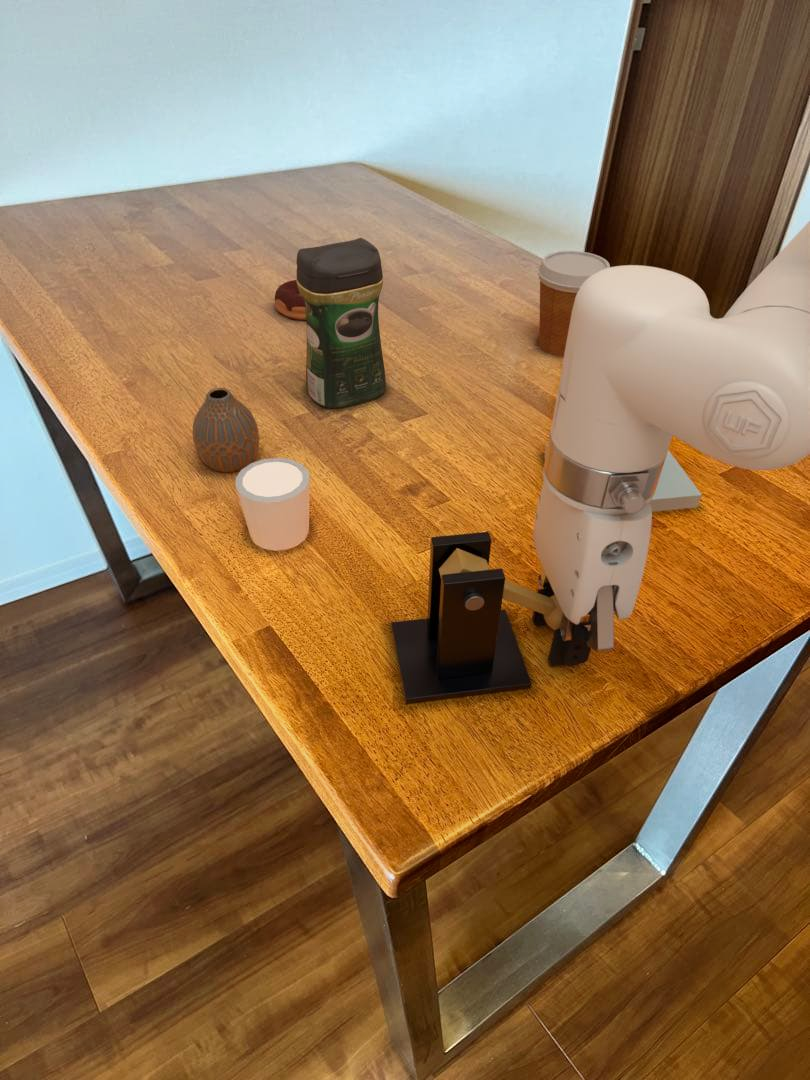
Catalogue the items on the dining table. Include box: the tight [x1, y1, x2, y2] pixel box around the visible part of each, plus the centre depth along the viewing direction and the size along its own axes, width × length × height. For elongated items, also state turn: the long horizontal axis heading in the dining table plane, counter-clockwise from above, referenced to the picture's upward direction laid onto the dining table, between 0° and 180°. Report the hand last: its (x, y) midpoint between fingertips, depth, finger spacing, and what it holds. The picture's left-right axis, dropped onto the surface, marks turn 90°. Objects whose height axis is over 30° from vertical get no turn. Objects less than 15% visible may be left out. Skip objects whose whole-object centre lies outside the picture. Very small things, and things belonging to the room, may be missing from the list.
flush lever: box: [439, 548, 585, 631], centre depth 56 cm, size 13×3×3 cm
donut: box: [274, 279, 306, 321], centre depth 109 cm, size 10×10×4 cm
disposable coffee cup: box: [537, 250, 611, 358], centre depth 98 cm, size 10×10×12 cm
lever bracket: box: [390, 531, 532, 705], centre depth 56 cm, size 10×8×12 cm
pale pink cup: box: [235, 457, 311, 552], centre depth 70 cm, size 7×7×7 cm
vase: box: [192, 387, 260, 473], centre depth 78 cm, size 7×7×9 cm
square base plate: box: [543, 443, 703, 513], centre depth 77 cm, size 13×11×4 cm
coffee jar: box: [295, 237, 387, 410], centre depth 86 cm, size 10×8×19 cm
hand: (558, 640), depth 61 cm, fingers open, 3 cm apart
